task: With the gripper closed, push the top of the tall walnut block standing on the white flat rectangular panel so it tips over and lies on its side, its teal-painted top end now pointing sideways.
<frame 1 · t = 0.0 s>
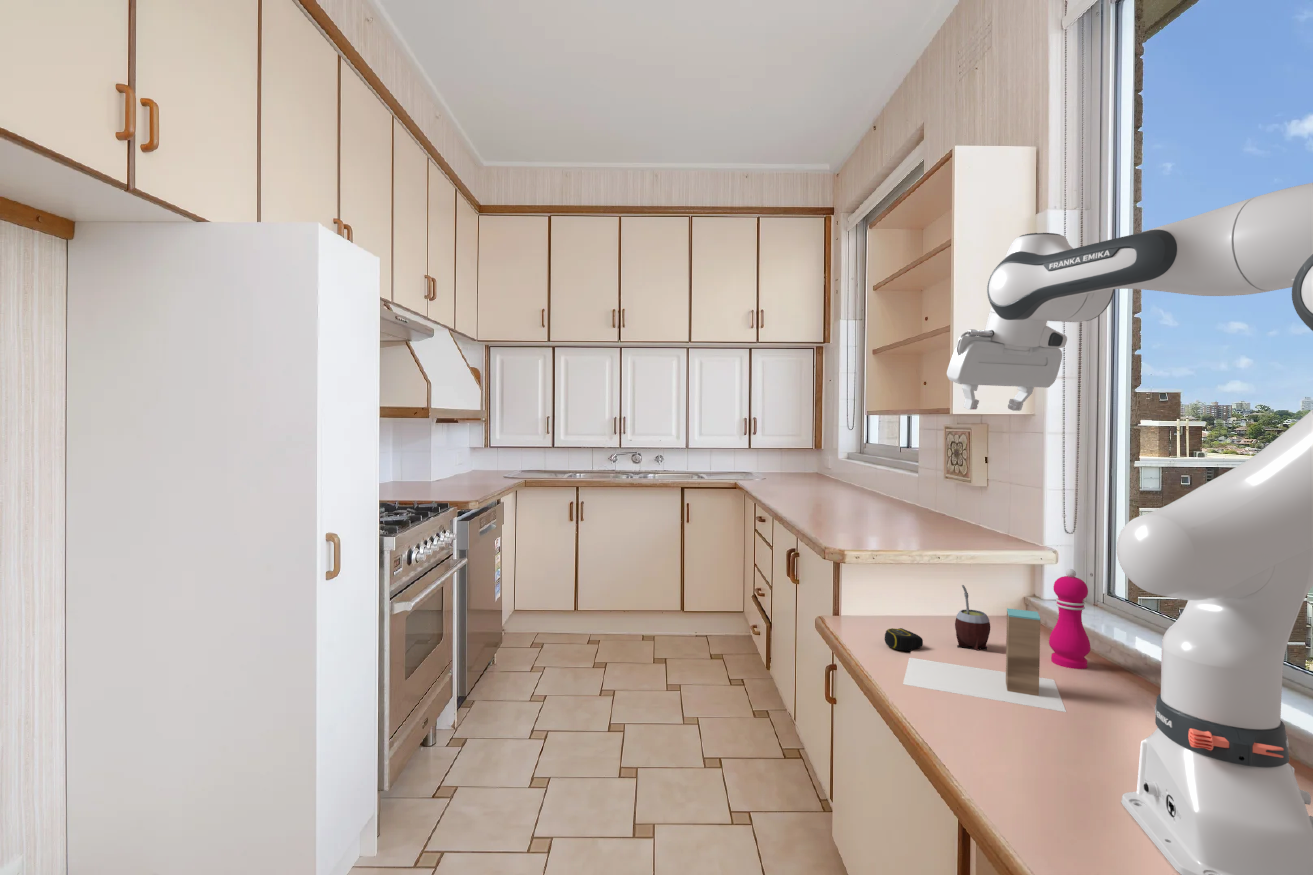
hand: (992, 409, 114), 52 cm above the countertop, fingers open, 8 cm apart
walnut block: (1021, 688, 119), resting on white flat rectangular panel
mate gourd: (971, 649, 142), on the countertop
tape measure: (902, 648, 143), on the countertop
white flat rectangular panel: (979, 684, 122), on the countertop
pepper mill: (1068, 666, 133), on the countertop
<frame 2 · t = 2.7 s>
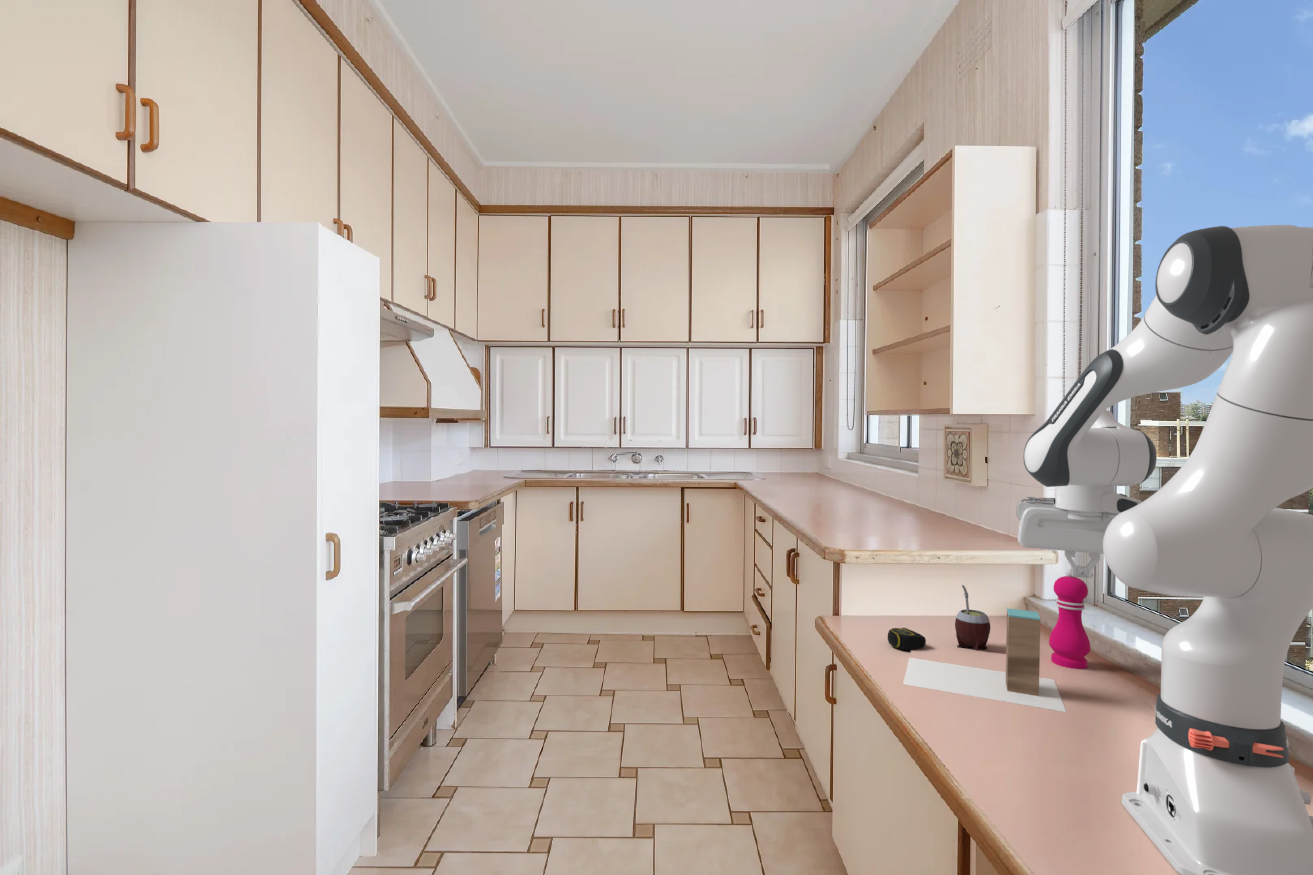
hand: (1081, 576, 115), 22 cm above the countertop, fingers closed
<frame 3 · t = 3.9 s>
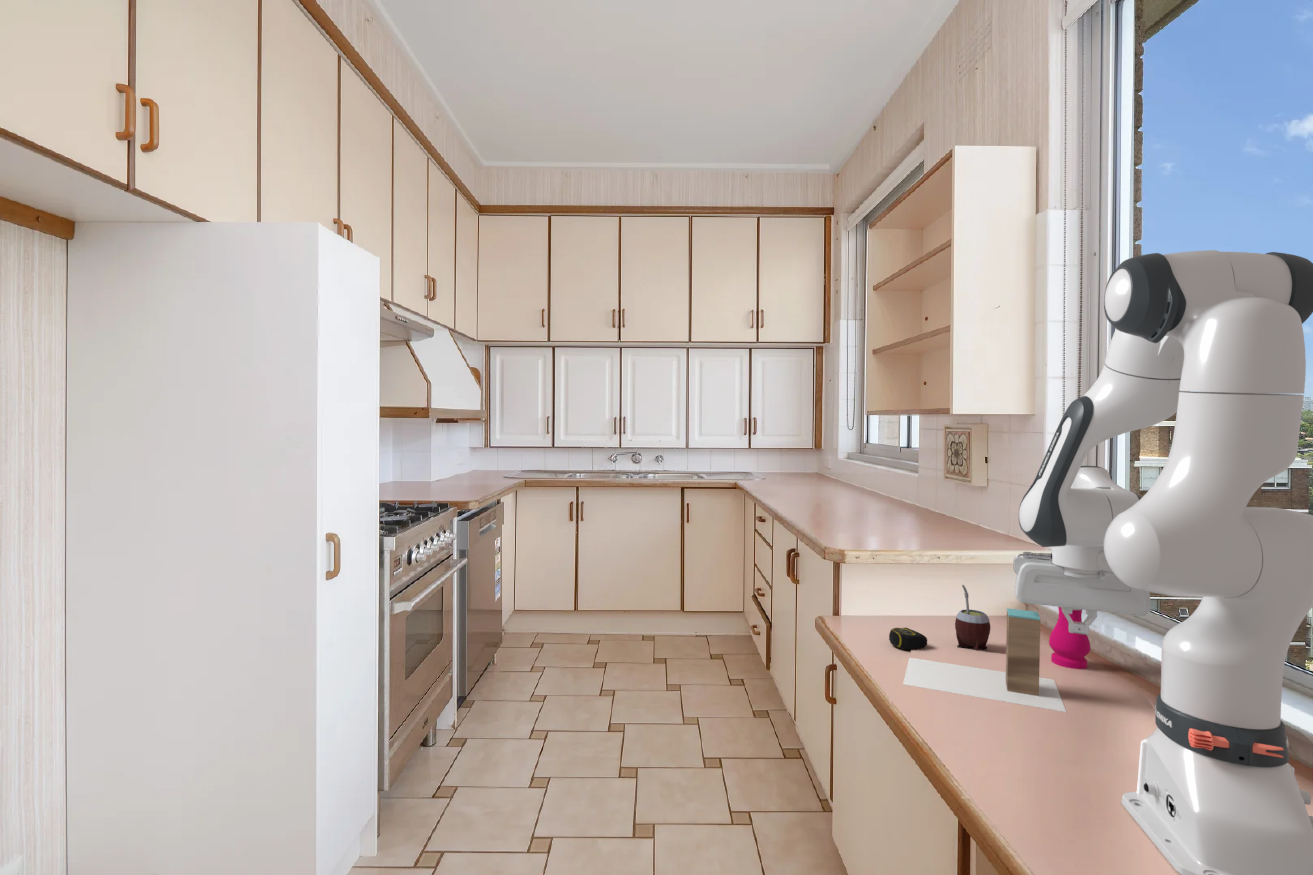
hand: (1078, 632, 115), 12 cm above the countertop, fingers closed
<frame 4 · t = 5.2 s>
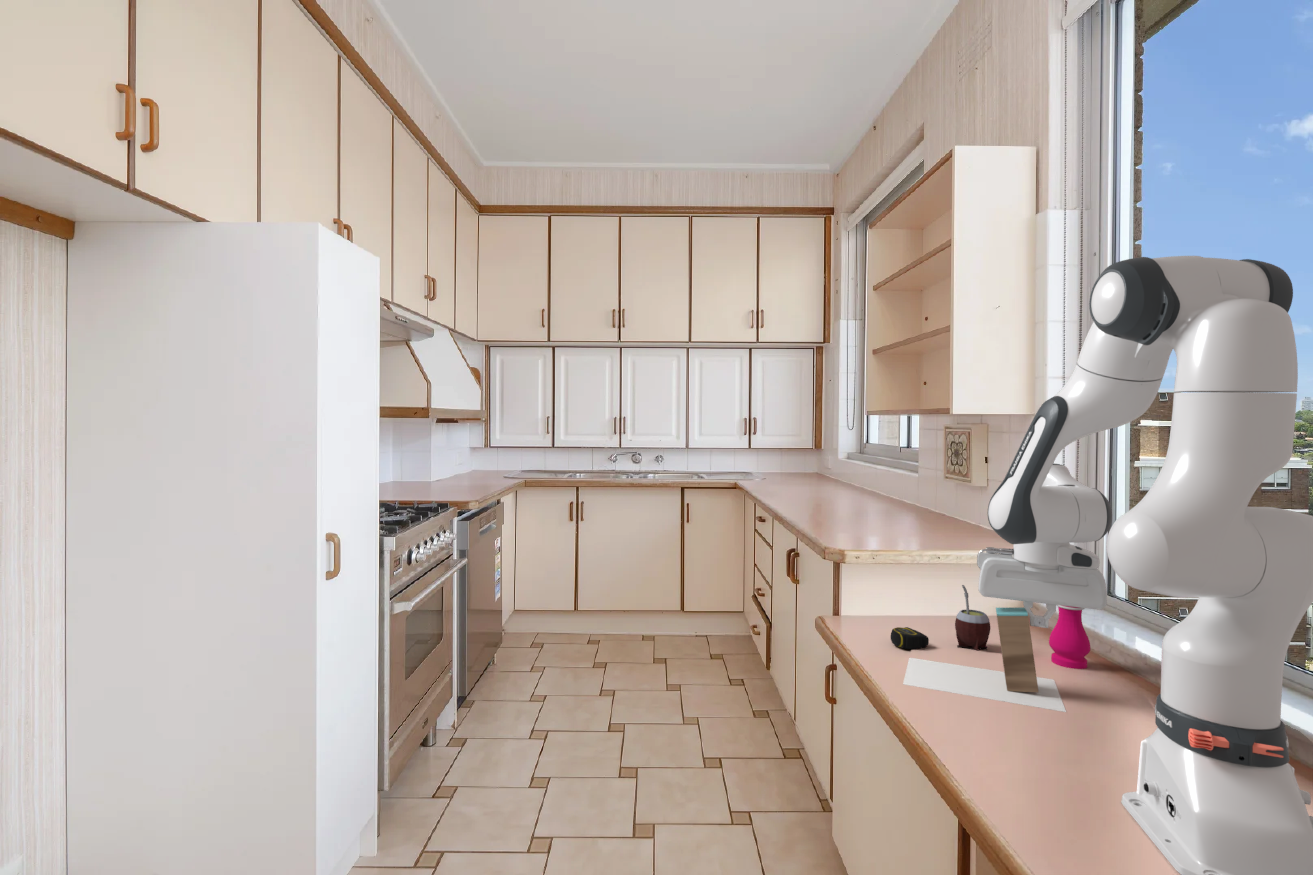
hand: (1038, 626, 118), 12 cm above the countertop, fingers closed
walnut block: (1021, 686, 119), point 1 cm above the countertop, tilted 8°, touching gripper, white flat rectangular panel
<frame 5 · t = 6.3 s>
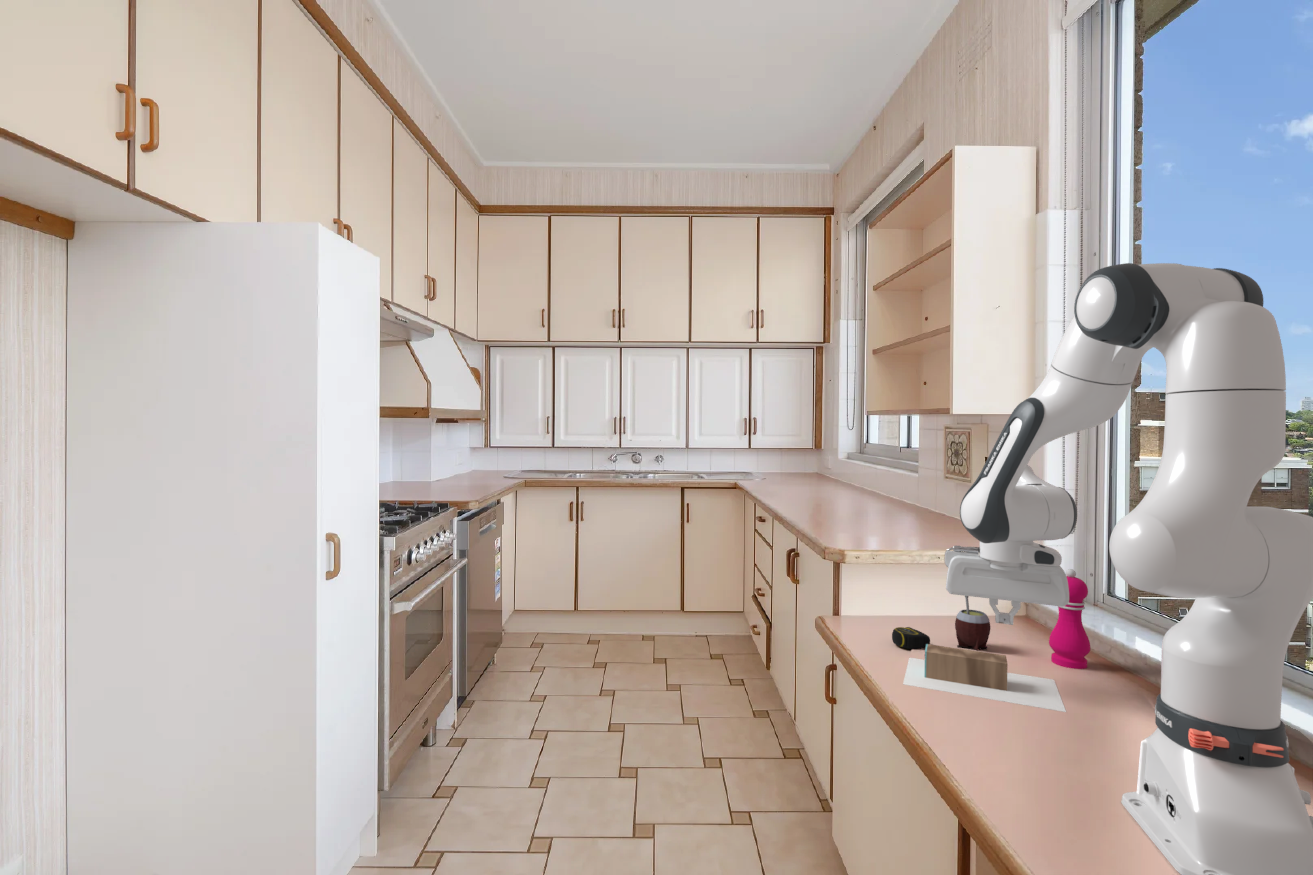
hand: (1004, 623, 120), 12 cm above the countertop, fingers closed
walnut block: (1006, 672, 120), point 3 cm above the countertop, tilted 90°, touching white flat rectangular panel
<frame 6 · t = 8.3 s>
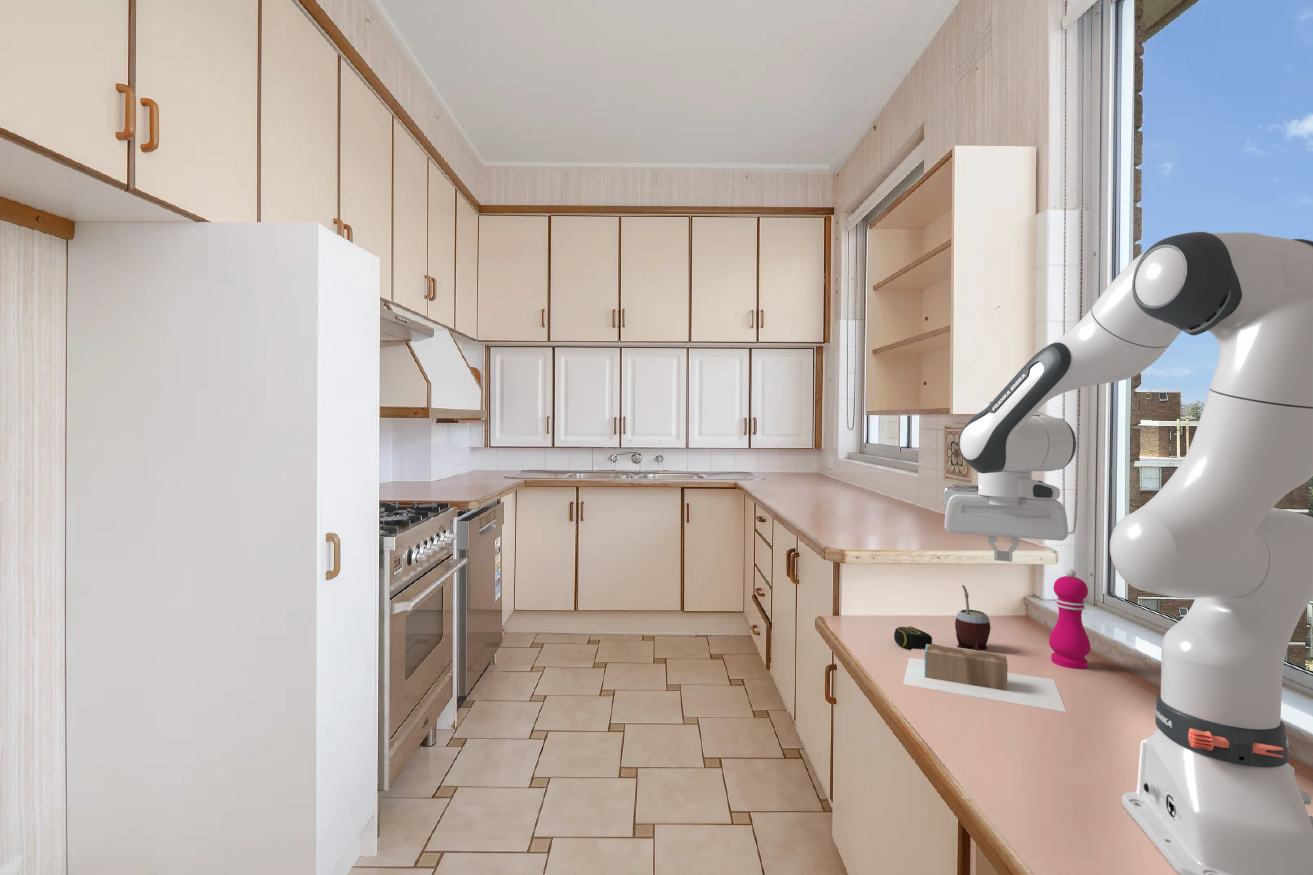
hand: (1003, 560, 120), 24 cm above the countertop, fingers closed
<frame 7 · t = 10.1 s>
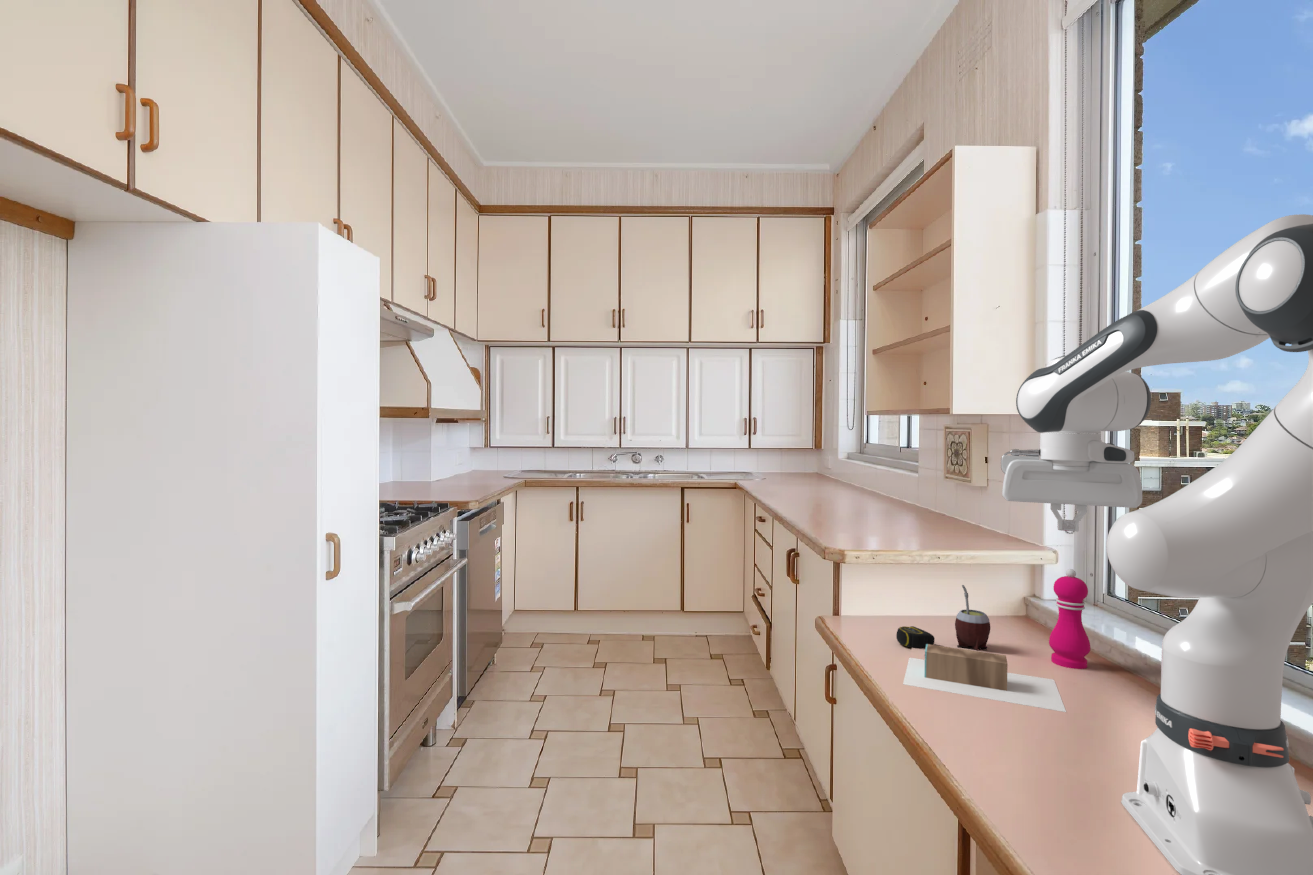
hand: (1067, 530, 111), 31 cm above the countertop, fingers closed
at the end: walnut block tilted 90°; walnut block inside the target area (1.0 cm from its centre), point 3.0 cm above the countertop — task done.
